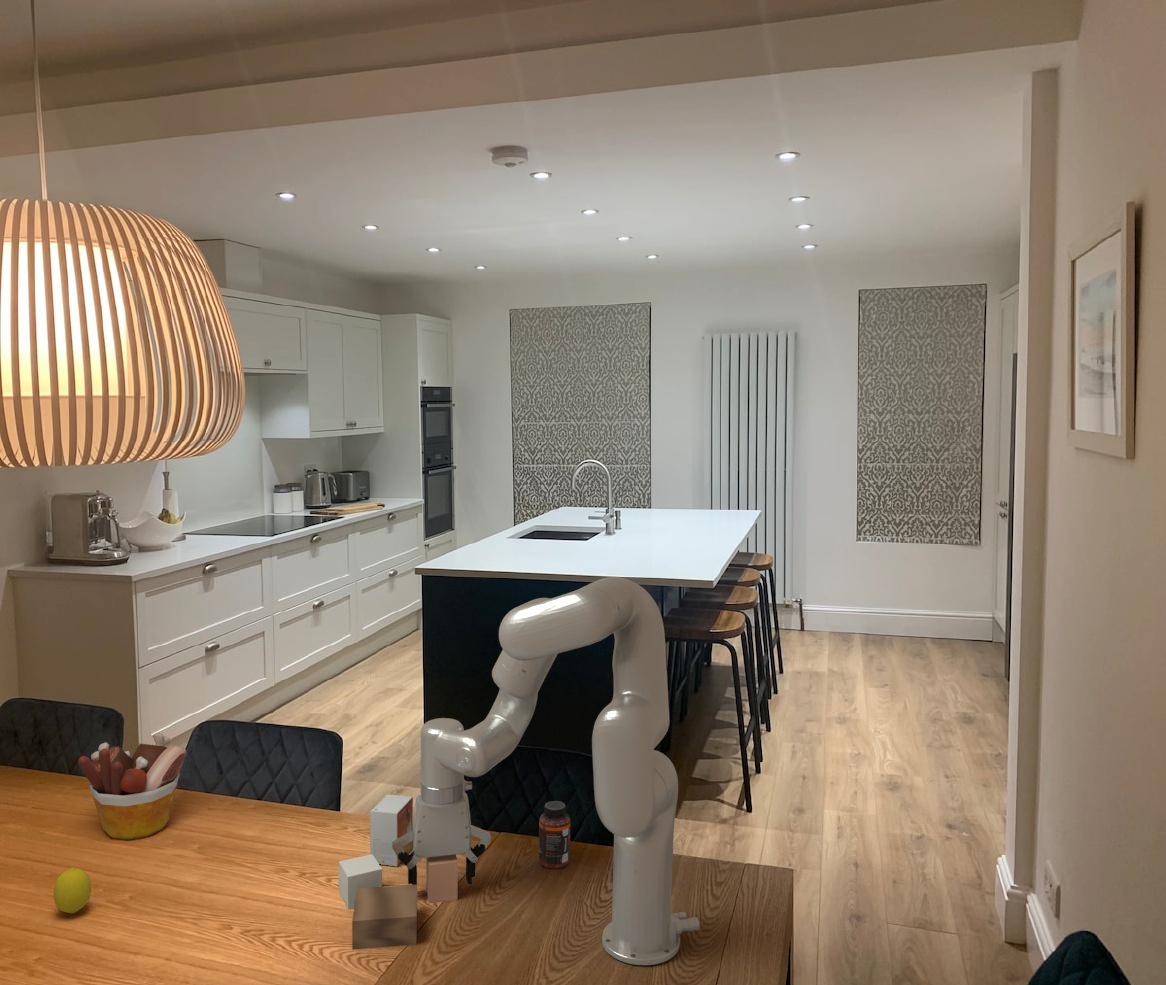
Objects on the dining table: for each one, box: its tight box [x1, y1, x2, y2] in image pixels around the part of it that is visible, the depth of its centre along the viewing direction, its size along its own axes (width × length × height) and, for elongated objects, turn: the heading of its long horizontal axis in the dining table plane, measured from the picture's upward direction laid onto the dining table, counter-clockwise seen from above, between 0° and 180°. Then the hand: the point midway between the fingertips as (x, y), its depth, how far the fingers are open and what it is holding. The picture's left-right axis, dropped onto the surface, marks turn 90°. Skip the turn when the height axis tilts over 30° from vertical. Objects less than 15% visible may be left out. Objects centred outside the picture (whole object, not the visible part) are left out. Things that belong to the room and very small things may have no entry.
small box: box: [369, 794, 414, 867], centre depth 174 cm, size 8×6×10 cm
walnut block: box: [351, 883, 418, 950], centre depth 150 cm, size 10×10×5 cm
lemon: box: [53, 867, 92, 915], centre depth 153 cm, size 6×6×8 cm
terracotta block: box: [425, 855, 459, 904], centre depth 161 cm, size 5×5×7 cm
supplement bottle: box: [538, 800, 571, 869], centre depth 173 cm, size 6×6×11 cm
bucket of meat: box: [77, 732, 187, 841], centre depth 183 cm, size 20×16×20 cm
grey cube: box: [338, 853, 383, 911], centre depth 160 cm, size 6×6×6 cm
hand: (441, 883), depth 161 cm, fingers open, 9 cm apart
